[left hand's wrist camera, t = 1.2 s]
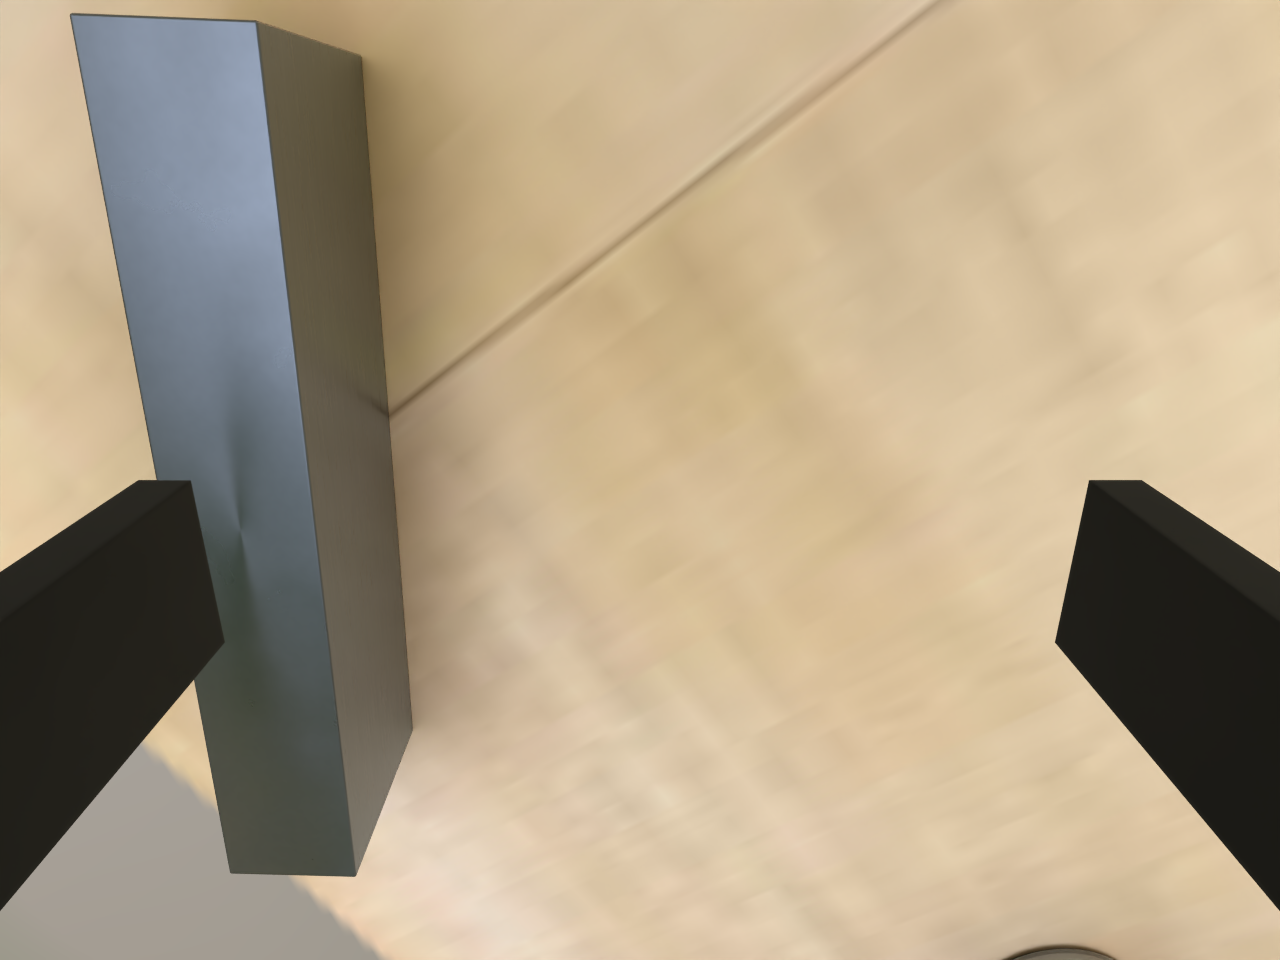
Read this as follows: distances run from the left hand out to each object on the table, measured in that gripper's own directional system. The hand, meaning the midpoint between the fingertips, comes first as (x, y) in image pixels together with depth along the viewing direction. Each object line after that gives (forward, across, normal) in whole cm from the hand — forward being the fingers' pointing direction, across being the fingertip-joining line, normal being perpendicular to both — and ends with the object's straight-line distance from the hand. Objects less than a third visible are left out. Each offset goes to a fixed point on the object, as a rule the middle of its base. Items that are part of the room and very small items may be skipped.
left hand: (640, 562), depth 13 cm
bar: (+20, -12, -5) cm, 24 cm away
